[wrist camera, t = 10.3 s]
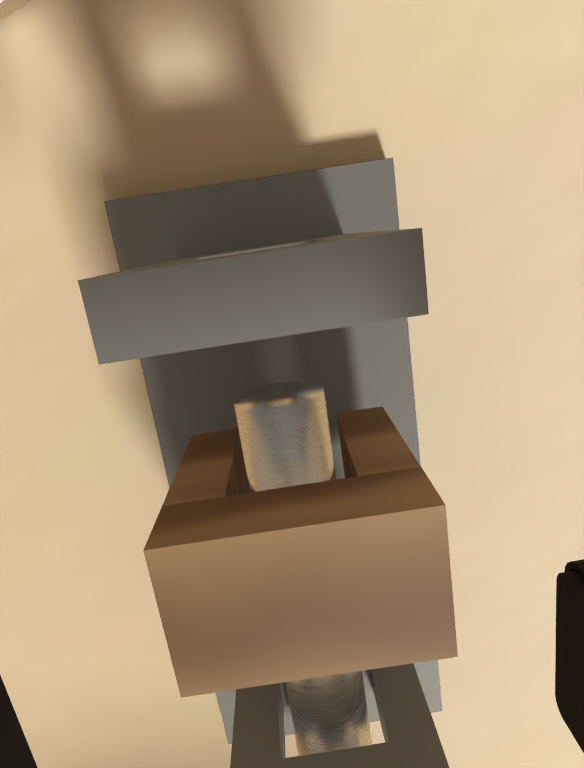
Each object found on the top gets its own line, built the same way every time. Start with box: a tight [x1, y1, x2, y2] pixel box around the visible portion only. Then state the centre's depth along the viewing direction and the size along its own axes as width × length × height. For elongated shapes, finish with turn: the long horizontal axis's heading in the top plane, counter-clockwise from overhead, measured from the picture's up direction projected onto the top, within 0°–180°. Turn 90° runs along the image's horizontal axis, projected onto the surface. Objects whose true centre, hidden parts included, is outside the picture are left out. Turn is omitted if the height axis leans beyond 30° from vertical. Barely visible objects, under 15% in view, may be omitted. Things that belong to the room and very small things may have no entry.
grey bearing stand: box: [78, 158, 449, 768], centre depth 17 cm, size 24×10×11 cm, turn 8°
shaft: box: [234, 382, 372, 756], centre depth 17 cm, size 20×5×5 cm, turn 8°
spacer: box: [143, 406, 458, 697], centre depth 15 cm, size 4×7×7 cm, turn 99°
